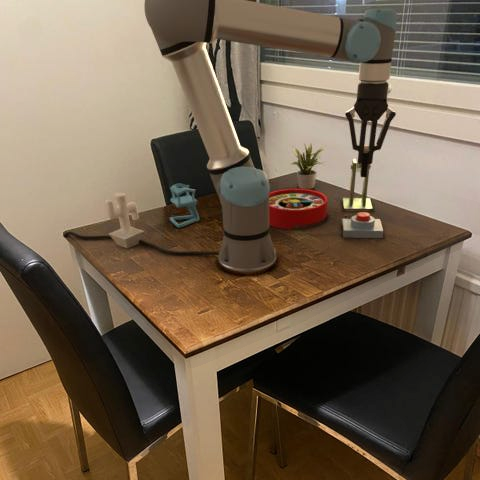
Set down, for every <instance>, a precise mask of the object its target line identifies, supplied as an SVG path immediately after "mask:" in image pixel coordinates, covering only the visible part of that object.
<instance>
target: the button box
mask: <svg viewBox="0 0 480 480" xmlns="http://www.w3.org/2000/svg"><path fill="white" fill-rule="evenodd" d="M356 219H357V214H356V215H353V216H351V218H342V219H341V224H342V238H350V239H351V238H354V239H355V238H359V239H383V238H384V228H383V225H382V221H381V218H375V217H373V216H371V215H370V218H369V221H358V220H356Z"/></svg>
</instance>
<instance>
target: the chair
mask: <svg viewBox="0 0 480 480" xmlns="http://www.w3.org/2000/svg"><path fill="white" fill-rule="evenodd" d="M169 190H170V192H171V195H172V197H171V198H170V202H171V203H172V204H174V205H175V206H176V208H182V207H186V208H187V209H188V211H189V213H190V214H189V215H180V216H179V215H178V216H169V221H170V222H171V223H172V224H173V225H174V226H175V227H177V228H178V229H180V228H183V227H185V226H188V225H190V224H193V223H196V222H199V221H200V215H199V212H198V211H197V207H196V206H197V204H198V200H197V199H196V198H195V193H196V189H193V188H190V185H189V184H184V183H181V182H180V183H178V182H177V183H175V184H173V185H172V186H169ZM184 193H185V194H186V195H183V196H181V195H182V194H184ZM190 193H192V194H191V195H190ZM180 220H181V221H183V220H186V221H184V222H181V223H178V221H180Z"/></svg>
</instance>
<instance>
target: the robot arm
mask: <svg viewBox="0 0 480 480" xmlns="http://www.w3.org/2000/svg"><path fill="white" fill-rule="evenodd" d="M397 14H398V13H397V11H396V10H395V9H394V8H368V9H366V10H365V12H364V15H363V16H362V17H363V18H359V19H350V18H344V17H343V18H342V17H338V16H333V15H327V14H322V13H317V12H313V11H306V10H301V9H295V8H289V7H284V6H278V5H274V4H268V3H262V2H257V1H253V0H144V15H145V19H146V22H147V24H148V26H149V27H150V29H151V32H152V35H153V37H154V39H155V41H156V44H157V47H158V49H159V51H160V54H161V56H162V58H164V59H166V60H168V62H169V61H170V62H171V64H172V66H173V69H174V72H175V74H176V77H177V80H178V82H179V84H180V88H181V89H182V92H183V94H184V97H185V99H186V102H187V105H188V107H189V110H190V112H191V114H192V115H191V116H192V117H193V119H194V122H195V126H196V127H197V130H198V132H199V135H200V137H201V140H202V142H203V145H204V148H205V151H206V153H207V155H208V158H209V160H208V162H207V164H206V169H207V171H208V173H209V176H210V178H211V181H212V183H213V187H214V189H215V192H216V194H217V197H218V199H219V201H220V205H221V211H222V227H223V238H222V241H221V245H220V248H219V251H210V250H209V251H208V250H207V251H201V250H200V251H197V250H196V251H195V250H194V251H193V250H192V251H189V250H188V251H176V250H168V249H165V248H162V247H160V246H158V245H156V244H153V243H151V242H149V241H146V240H143V239H141V240H139V244H141V245H144V246H147V247H150V248H152V249H155V250H156V251H159V252H161V253H164V254H167V255H174V256H188V255H189V256H200V255H201V256H217V259H218V267H219V268H220V269H221V270H222V271H224V272H226V273H228V274H232V275H238V276H253V275H259V274H263V273H266V272H269V271H271V270H272V269H273V268H274V267H276V264H277V251H276V248H275V245H274V243H273V240H272V238H271V235H270V225H269V193H271V187H270V181H269V180H270V179H269V176H268V174H267V173H266V172H265V171H264V170H262V169H260V168H256V167H255V165H254V163H253V160H252V157H251V154H250V151H249V149H248V148H246V147H244V146H242V145H241V143H240V140H239V138H238V135H237V131H236V129H235V126H234V124H233V121H232V118H231V115H230V112H229V108H228V106H227V104H226V101H225V98H224V94H223V93H222V89H221V87H220V84H219V81H218V79H217V75H216V72H215V69H214V67H213V64H212V61H211V58H210V56H209V53H208V50H207V44H212V43H214V41H216V40H221V41H228V42H233V43H239V44H246V45H252V46H259V47H265V48H269V49H276V50H282V51H290V52H294V53H295V52H296V53H301V54H308V55H312V56H313V55H314V56H315V57H317V58H326V59H327V58H332V59H336V60H342V61H348V62H349V61H350V62H352V63H355V64H359V69H358V70H359V71H358V80H359V81H360V82H358V83H357V92H356V101H355V103H354V104H353V107H352V108H350V109H348V110H345V112H344V114H345V117H346V120H347V121H348V125H349V134H350V140H351V145H352V150H354V151H355V150H357V151H356V152H358V153H357V162H358V164H361V172H359V174H360V175H359V176H360V178H364V177H367V168H368V164H371V165H372V164H373V160H374V153H375V152H376V151H380V150H381V149H382V146H383V144H384V141H385V139H386V135H387V133H388V130H389V128H390V125H391V122H392V121H393V120H394V118H395V117H396V115H397V113H396V111H395V110H393V109H392V108H390V107H389V104H388V96H389V95H388V93H389V88H390V87H389V86H390V84H389V82H388V81H389V80H390V77H391V69H392V60H393V53H394V44H395V38H396V33H397V16H398V15H397ZM355 114H356V115H357V116H358V118H359V119H360V121H361V122H360V133H359V140H358V141H359V142H357V135H356V129H355V121H354V118H355V116H356V115H355ZM383 115H384V117H385V118H384V121H383V123H382V126H381V128H380V129H381V130H380V132H379V135H378V137H377V141H376V136H377V128H378V127H377V126H378V121H379V120H380V119H381V117H382V116H383ZM368 122H370V131H369V132H370V133H369V142H368V145H369V151H368V150H364V145H366V137H367V136H366V135H367V127H368V126H367V125H368ZM68 236H73V237H75V238H78V239H82V240H101V239H102V240H103V239H108V240H109V239H110V240H113V239H112V237H111V236H110V235H83V234H82V235H81V234H79V233H76V232H74V231H67V232H65V233H64V234H63V236H62V237H63V238H66V237H68Z"/></svg>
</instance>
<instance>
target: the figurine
mask: <svg viewBox="0 0 480 480" xmlns="http://www.w3.org/2000/svg"><path fill="white" fill-rule="evenodd" d="M113 195H114V202H113V200H111V199H109V198H108V199H106V200H105V207H106V213H107V216H108V218H109V219H110V220H115V219H118V221H119V226H120V228H119V229H117V230H114V231H112V232H109V233H108V236H111V237H112V239H111V240H113V241H114V243H115V244H116V245H117V246H119V247H122V248H125V249H131V248H132V247H134V246H136V245H139V244H140V243H139V240H142V237H143V236H144V233H145V230H143V229H140V228H137V227H133V226H131V223H130V215H131V219H132V220H133V221H138V220H139V217H140V216H139V211H138V206H137V203H136V202H135V201H129V202H127V194H126V193H125V192H120V191H117V192H115V193H114V194H113ZM114 204H116V206H115V207H114Z"/></svg>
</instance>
